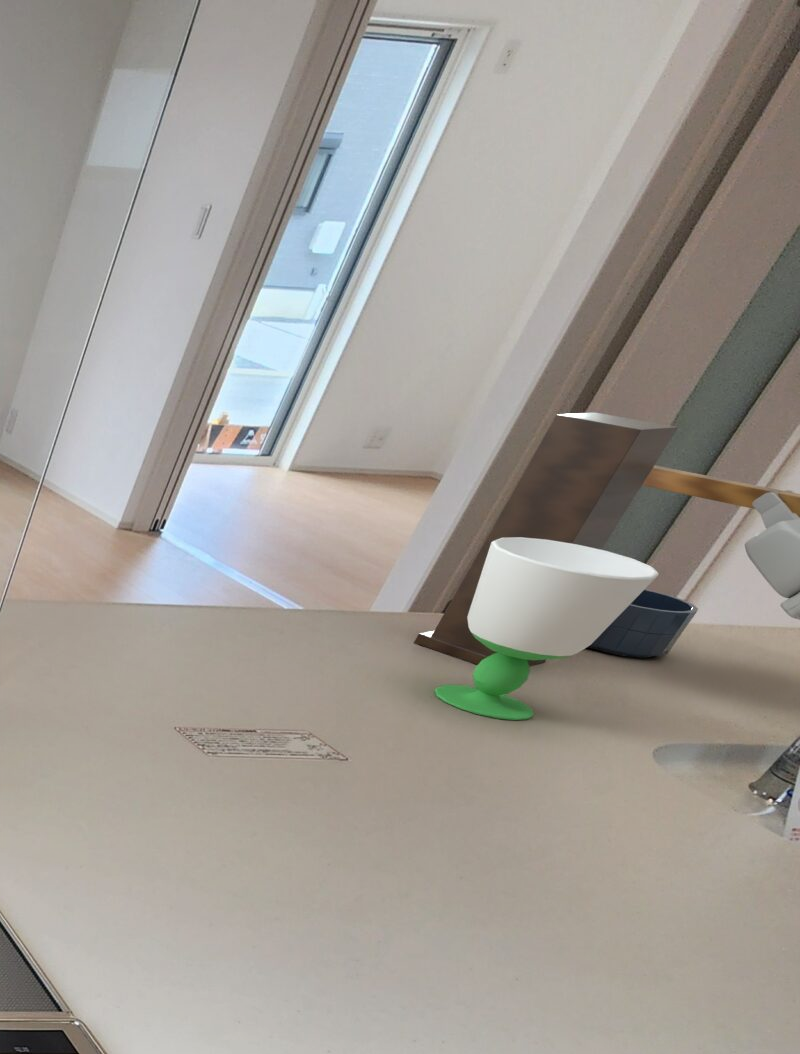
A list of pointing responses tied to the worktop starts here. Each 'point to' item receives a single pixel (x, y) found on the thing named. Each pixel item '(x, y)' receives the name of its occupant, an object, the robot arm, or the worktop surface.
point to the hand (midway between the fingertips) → (770, 495)
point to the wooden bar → (715, 488)
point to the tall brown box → (561, 503)
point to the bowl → (646, 626)
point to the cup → (540, 614)
